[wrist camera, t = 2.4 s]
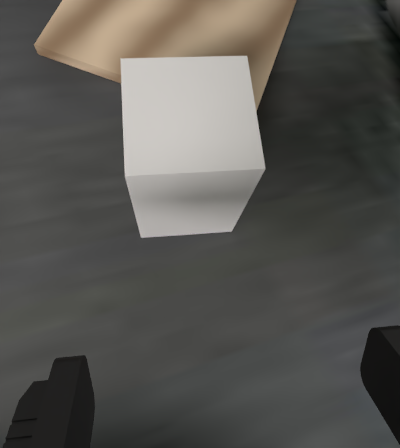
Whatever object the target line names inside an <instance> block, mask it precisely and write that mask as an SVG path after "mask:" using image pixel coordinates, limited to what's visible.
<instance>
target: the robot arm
mask: <svg viewBox="0 0 400 448" xmlns="http://www.w3.org/2000/svg"><path fill="white" fill-rule="evenodd" d="M360 371H361V377H362V381H363V384H364V386H365V388H366V390H367V391H368V393H369V395H370V396H371V398H372V400H373V401H374V403H375V405H376V406H377V408H378V410H379V411H380V413H381V415H382V416H383V418H384V420H385V421H386V423H387V424H388V426H389V428H390V429H391V431H392V433H393V434H394V436H395V438H396V439H397V441H398V443H399V444H400V326H398V325H397V326H387V327H377V328H372V329H371V330H370V331H369V334H368V338H367V342H366V346H365V350H364V354H363V358H362V362H361V367H360ZM94 410H95V402H94V392H93V387H92V382H91V378H90V373H89V368H88V363H87V359H86V356H85V355H83V356H73V357H63V358H56V359H55V360H54V362H53V365H52V369H51V372H50V376H49V379H48V380H45V381H35V382H33V383H32V385H31V386H30V387H29V388H28V390H27V391H26V392H25V394H24V395H23V396H22V397H21V399H20V400H19V402H18V405H17V408H16V411H15V414H14V417H13V419H12V425H10V428H9V431H8V434H7V436H6V442H5V443H4V445H3V448H90V442H91V435H92V428H93V421H94Z"/></svg>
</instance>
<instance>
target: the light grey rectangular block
mask: <svg viewBox="0 0 400 448" xmlns="http://www.w3.org/2000/svg"><path fill="white" fill-rule="evenodd" d="M120 59H121V86H122V112H123V139H124V165H125V178H126V182H127V186H128V190H129V194H130V197H131V201H132V205H133V209H134V213H135V216H136V220H137V224H138V228H139V232H140V235H141V238H146V237H160V236H174V235H189V234H203V233H217V232H232V230H233V228H234V226H235V224H236V223H237V221H238V219H239V217H240V215H241V213H242V211H243V210H244V208H245V206H246V204H247V202H248V200H249V198H250V197H251V195H252V193H253V191H254V189H255V187H256V185H257V184H258V182H259V180H260V178H261V176H262V174H263V172H264V171H265V163H264V156H263V150H262V144H261V138H260V132H259V126H258V119H257V113H256V107H255V101H254V95H253V89H252V82H251V76H250V70H249V64H248V58H247V56H210V57H165V58H120Z"/></svg>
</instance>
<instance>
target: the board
mask: <svg viewBox="0 0 400 448" xmlns="http://www.w3.org/2000/svg"><path fill="white" fill-rule="evenodd" d="M295 3H296V0H62V2H61V3H60V5H59V7H58V8H57V10H56V11H55V13H54V14H53V16H52V18H51V19H50V21H49V22H48V24H47V25H46V27H45V28H44V30H43V32H42V33H41V35H40V36H39V38H38V39H37V41H36V43H35V44H34V46H35V48H36V50H37V53H38V54H39V55H42V56H45V57H47V58H50V59H53V60H56V61H59V62H62V63H65V64H67V65H70V66H73V67H76V68H79V69H82V70H84V71H87V72H90V73H93V74H96V75H99V76H102V77H104V78H107V79H110V80H113V81H116V82H119V83H121V59H120V58H165V57H210V56H247V58H248V64H249V70H250V76H251V82H252V89H253V95H254V101H255V107H256V111H257V108H258V106H259V103H260V100H261V97H262V95H263V92H264V89H265V86H266V84H267V81H268V78H269V75H270V72H271V70H272V67H273V64H274V61H275V59H276V56H277V53H278V50H279V47H280V45H281V42H282V39H283V36H284V34H285V31H286V28H287V25H288V23H289V20H290V17H291V14H292V11H293V9H294V6H295Z"/></svg>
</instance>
